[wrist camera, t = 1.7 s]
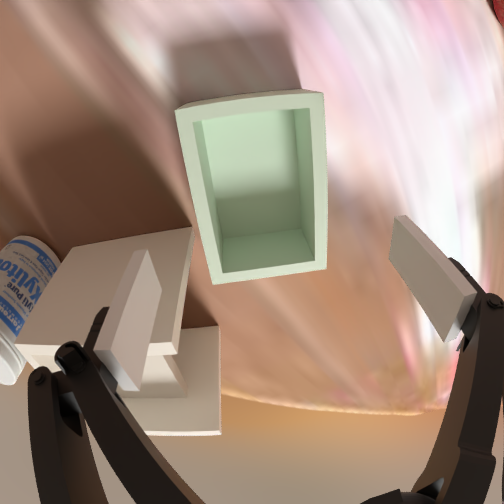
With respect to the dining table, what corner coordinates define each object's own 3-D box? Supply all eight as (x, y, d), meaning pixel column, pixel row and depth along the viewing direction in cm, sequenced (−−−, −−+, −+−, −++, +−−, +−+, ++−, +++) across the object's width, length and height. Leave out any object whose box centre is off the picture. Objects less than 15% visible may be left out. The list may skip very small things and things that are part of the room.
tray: (214, 245, 29) (212, 284, 24) (187, 102, 22) (174, 110, 17) (309, 232, 29) (326, 268, 24) (302, 88, 22) (323, 92, 17)
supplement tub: (71, 250, 28) (10, 353, 16) (65, 305, 33) (24, 399, 20) (7, 220, 25) (-66, 302, 13) (9, 277, 30) (-42, 358, 17)
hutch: (72, 247, 28) (13, 343, 16) (192, 226, 28) (171, 342, 16) (120, 339, 36) (98, 430, 25) (220, 331, 36) (221, 434, 25)
